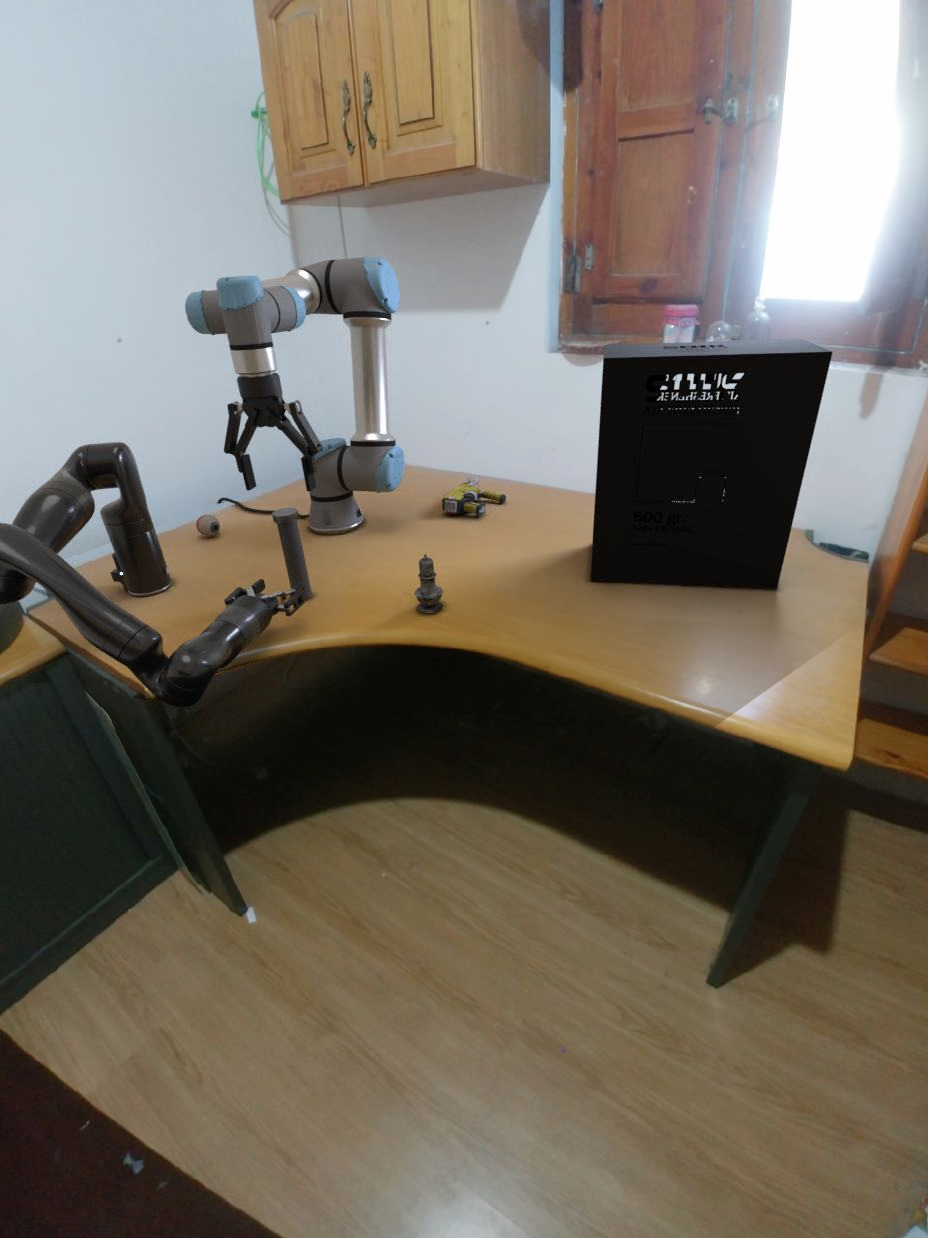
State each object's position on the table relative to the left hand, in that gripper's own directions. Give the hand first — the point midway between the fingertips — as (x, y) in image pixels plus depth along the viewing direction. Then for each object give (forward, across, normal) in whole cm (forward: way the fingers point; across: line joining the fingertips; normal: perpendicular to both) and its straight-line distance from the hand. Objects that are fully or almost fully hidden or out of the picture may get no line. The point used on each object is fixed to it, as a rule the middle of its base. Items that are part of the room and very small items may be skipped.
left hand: (281, 584), depth 123 cm
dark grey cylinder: (+7, 0, +7) cm, 9 cm away
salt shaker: (+6, -29, +7) cm, 31 cm away
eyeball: (+38, +42, +7) cm, 57 cm away
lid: (+7, 0, -13) cm, 14 cm away
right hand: (+7, 0, -18) cm, 19 cm away
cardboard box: (+32, -80, +7) cm, 86 cm away
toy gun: (+68, -27, +7) cm, 74 cm away
